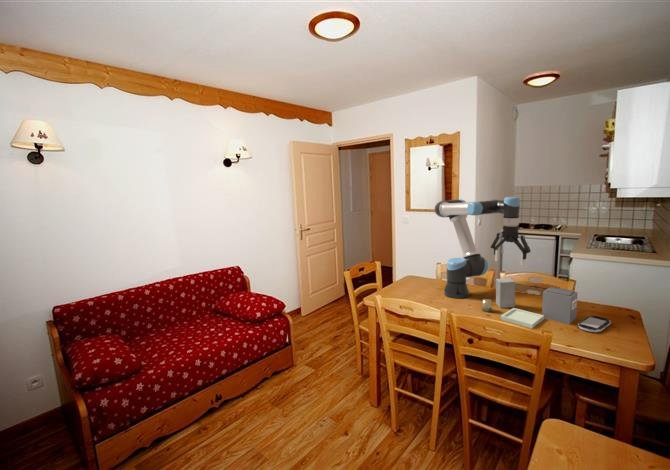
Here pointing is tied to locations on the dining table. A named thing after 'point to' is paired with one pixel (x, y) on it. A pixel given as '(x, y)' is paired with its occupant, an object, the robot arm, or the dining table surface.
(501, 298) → the skincare box
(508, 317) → the tray
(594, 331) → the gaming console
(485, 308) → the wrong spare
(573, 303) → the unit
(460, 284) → the robot arm
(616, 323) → the dining table surface
